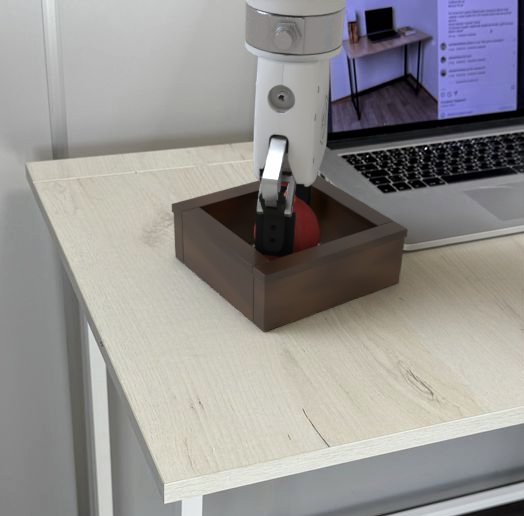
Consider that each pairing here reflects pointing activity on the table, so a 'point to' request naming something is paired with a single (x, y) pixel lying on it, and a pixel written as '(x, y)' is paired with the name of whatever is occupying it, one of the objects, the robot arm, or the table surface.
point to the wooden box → (291, 266)
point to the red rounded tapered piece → (302, 227)
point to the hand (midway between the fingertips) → (284, 227)
